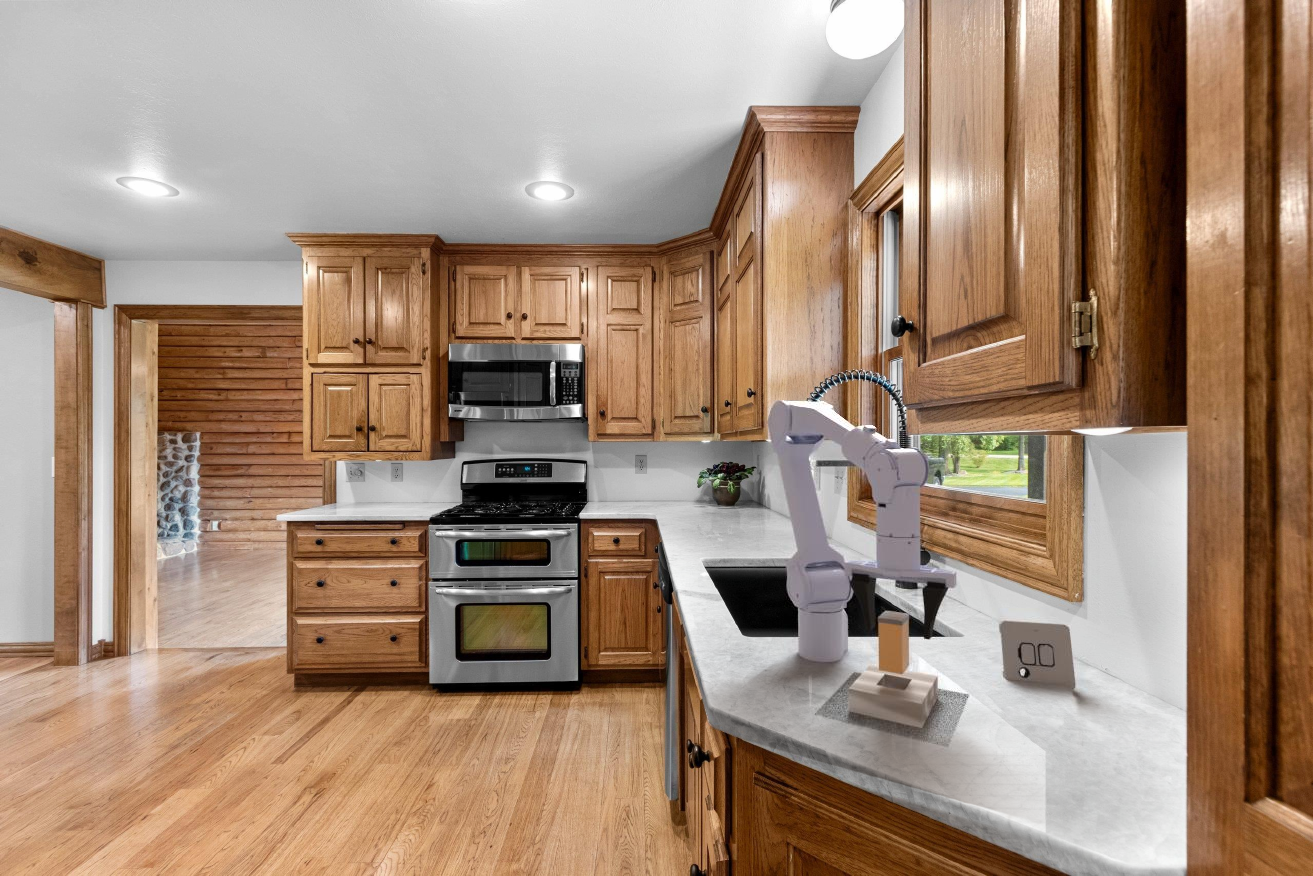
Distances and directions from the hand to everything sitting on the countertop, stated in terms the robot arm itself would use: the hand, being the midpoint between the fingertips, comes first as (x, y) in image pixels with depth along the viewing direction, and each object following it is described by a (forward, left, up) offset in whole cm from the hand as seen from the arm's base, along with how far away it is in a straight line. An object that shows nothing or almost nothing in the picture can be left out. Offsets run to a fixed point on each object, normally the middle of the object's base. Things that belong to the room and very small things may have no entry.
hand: (898, 632), depth 87 cm
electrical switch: (-19, +15, -10) cm, 26 cm away
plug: (+3, 0, -4) cm, 5 cm away
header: (+3, 0, -10) cm, 10 cm away
